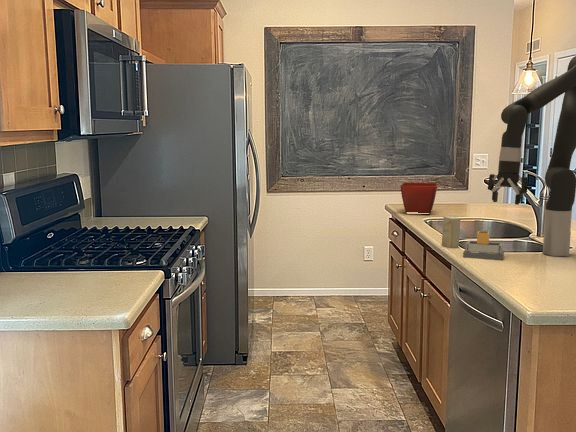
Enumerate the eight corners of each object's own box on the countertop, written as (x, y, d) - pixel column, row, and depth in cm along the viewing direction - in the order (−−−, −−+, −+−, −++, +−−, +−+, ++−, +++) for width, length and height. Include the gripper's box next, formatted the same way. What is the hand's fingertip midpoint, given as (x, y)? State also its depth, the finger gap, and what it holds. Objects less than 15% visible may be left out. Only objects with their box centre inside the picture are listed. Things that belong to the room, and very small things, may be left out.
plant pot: (399, 215, 336) (400, 185, 334) (403, 210, 354) (404, 182, 352) (434, 216, 331) (435, 186, 328) (436, 212, 349) (437, 183, 346)
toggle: (488, 250, 229) (489, 230, 227) (487, 251, 225) (488, 232, 224) (477, 249, 230) (478, 230, 229) (476, 251, 226) (477, 231, 225)
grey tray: (504, 255, 229) (504, 242, 228) (502, 260, 221) (503, 246, 220) (466, 252, 234) (466, 240, 234) (463, 257, 226) (463, 244, 225)
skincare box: (441, 245, 249) (442, 216, 247) (450, 244, 250) (451, 215, 249) (450, 248, 243) (451, 218, 241) (459, 247, 245) (461, 217, 243)
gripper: (533, 161, 222) (528, 204, 224) (496, 158, 232) (492, 200, 234) (524, 161, 216) (520, 205, 219) (487, 158, 226) (483, 201, 228)
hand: (505, 203), depth 226 cm, fingers open, 8 cm apart
